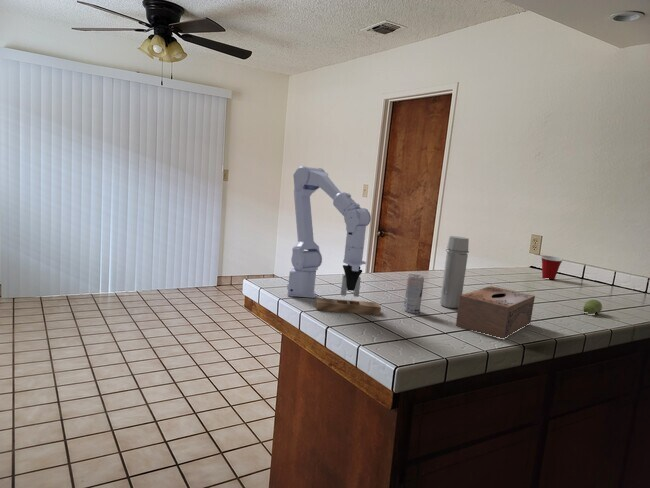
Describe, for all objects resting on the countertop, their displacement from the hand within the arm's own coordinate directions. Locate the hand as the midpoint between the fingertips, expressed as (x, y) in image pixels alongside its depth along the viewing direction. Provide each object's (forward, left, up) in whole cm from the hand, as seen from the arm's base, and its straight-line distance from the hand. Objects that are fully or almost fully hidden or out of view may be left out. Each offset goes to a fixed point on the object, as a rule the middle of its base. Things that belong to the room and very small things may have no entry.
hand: (350, 289), depth 143 cm
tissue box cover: (+47, -4, -7) cm, 47 cm away
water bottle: (+38, +15, -7) cm, 41 cm away
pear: (+96, +22, -7) cm, 99 cm away
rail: (0, 0, -7) cm, 7 cm away
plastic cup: (+119, +92, -7) cm, 151 cm away
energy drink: (+22, +5, -7) cm, 24 cm away
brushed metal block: (0, 0, -2) cm, 2 cm away
